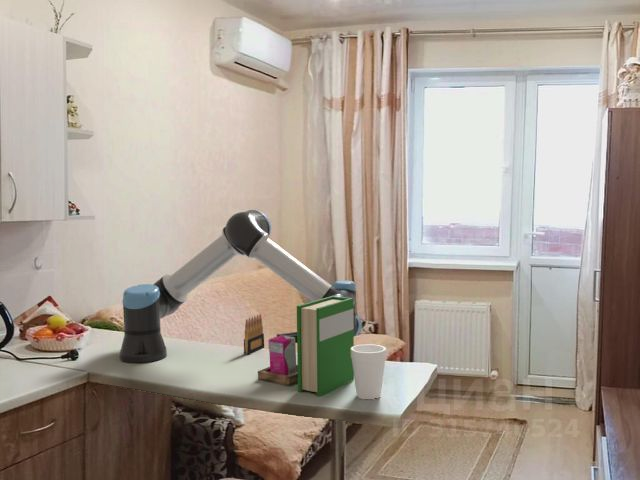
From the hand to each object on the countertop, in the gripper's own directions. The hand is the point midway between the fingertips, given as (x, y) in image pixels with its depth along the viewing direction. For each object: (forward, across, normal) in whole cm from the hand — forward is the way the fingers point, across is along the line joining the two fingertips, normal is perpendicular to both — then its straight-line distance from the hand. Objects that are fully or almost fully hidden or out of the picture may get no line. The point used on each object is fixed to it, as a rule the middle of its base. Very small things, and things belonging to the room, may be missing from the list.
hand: (286, 348), depth 197 cm
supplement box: (+1, +1, -9) cm, 9 cm away
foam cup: (+1, -29, -9) cm, 30 cm away
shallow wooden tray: (0, 0, -9) cm, 9 cm away
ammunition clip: (-18, +29, -9) cm, 35 cm away
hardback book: (0, -14, -9) cm, 17 cm away
